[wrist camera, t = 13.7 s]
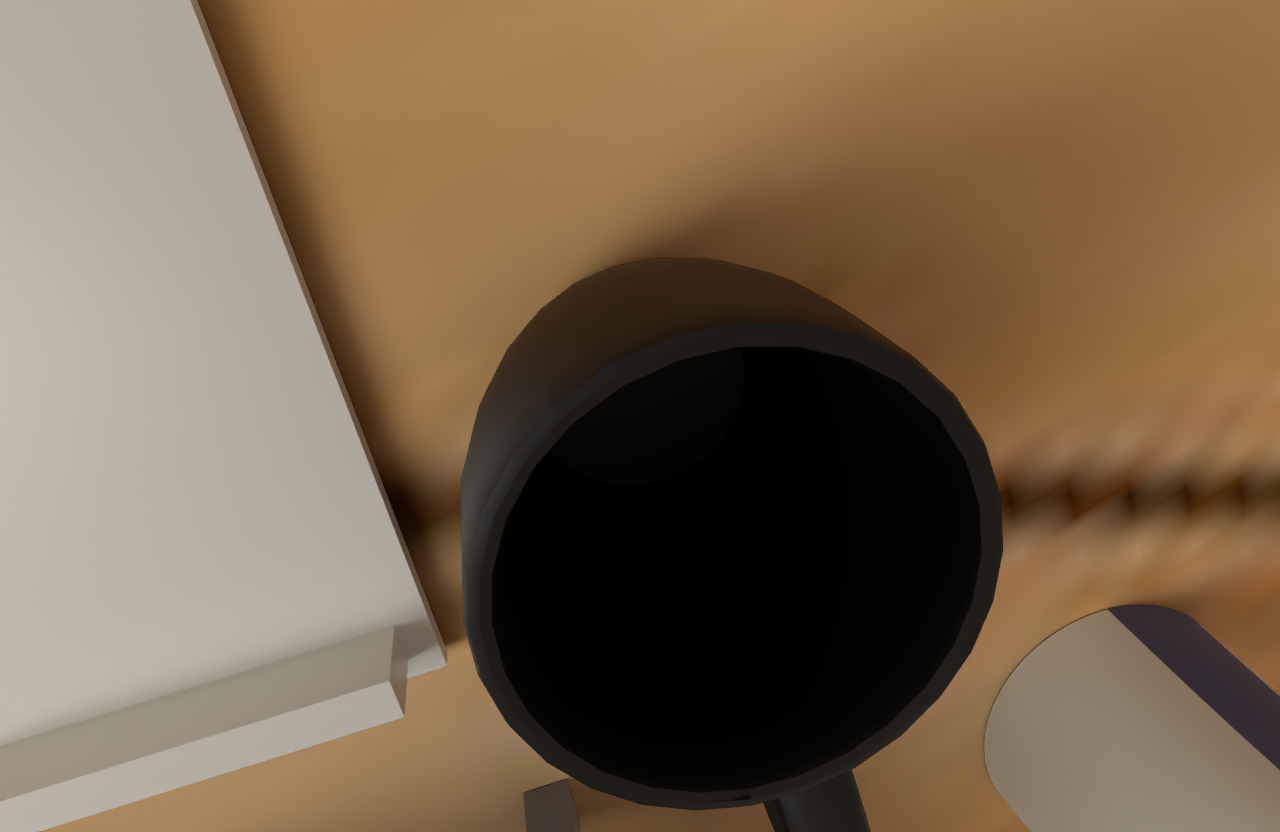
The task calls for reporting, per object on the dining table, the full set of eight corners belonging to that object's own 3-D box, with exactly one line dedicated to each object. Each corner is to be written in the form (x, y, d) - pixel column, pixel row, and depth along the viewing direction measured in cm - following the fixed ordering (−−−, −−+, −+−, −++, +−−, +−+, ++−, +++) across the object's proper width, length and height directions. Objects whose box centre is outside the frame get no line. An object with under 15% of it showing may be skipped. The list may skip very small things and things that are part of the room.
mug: (571, 703, 26) (631, 1037, 18) (401, 272, 22) (370, 435, 13) (865, 598, 27) (1066, 873, 18) (760, 154, 22) (962, 235, 13)
